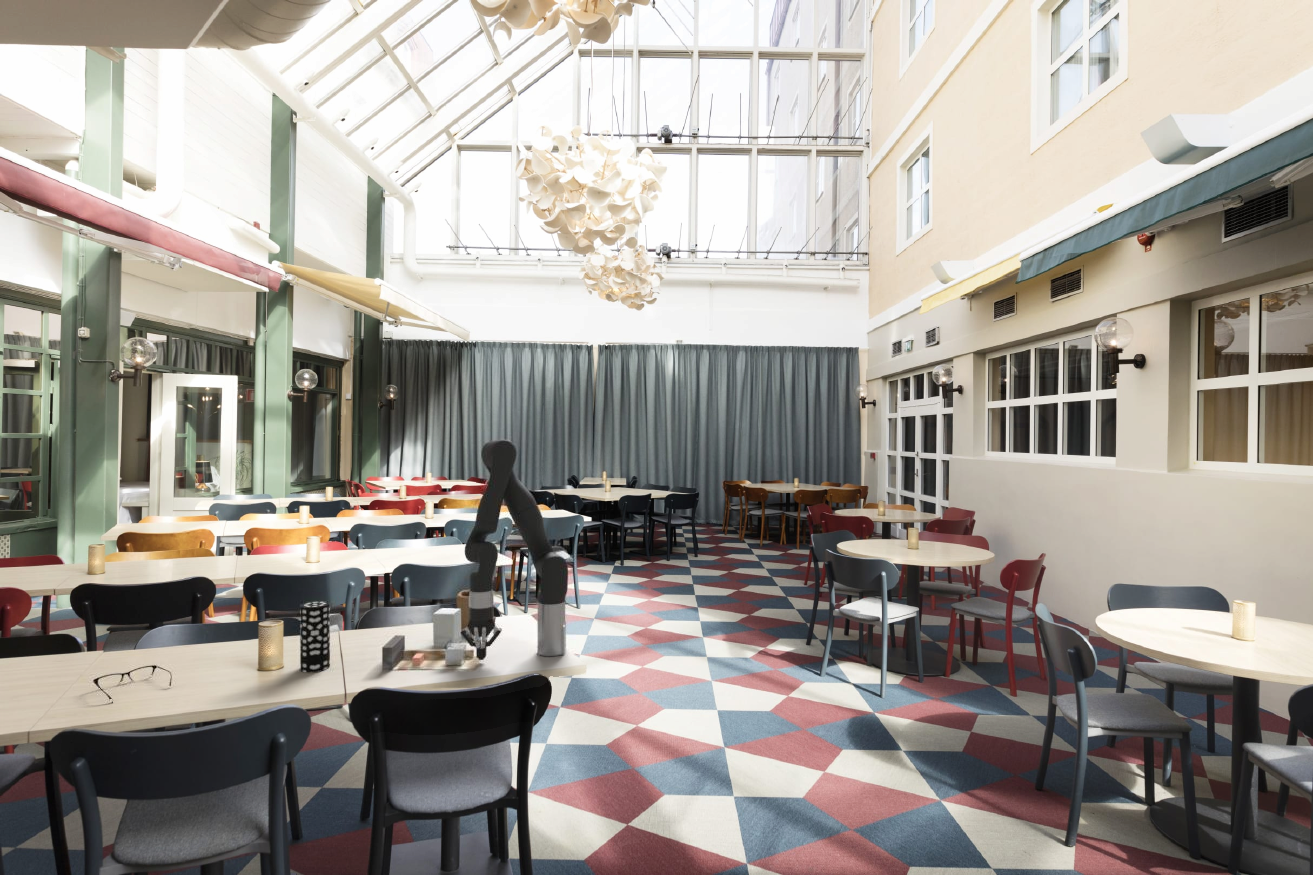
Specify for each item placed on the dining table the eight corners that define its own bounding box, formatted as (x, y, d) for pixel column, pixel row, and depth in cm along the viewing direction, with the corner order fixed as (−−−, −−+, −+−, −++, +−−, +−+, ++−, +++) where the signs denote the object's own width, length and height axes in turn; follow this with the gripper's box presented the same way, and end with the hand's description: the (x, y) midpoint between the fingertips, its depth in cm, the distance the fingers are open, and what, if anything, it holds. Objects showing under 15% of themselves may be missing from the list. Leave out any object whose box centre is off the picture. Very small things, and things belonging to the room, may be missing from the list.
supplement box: (461, 644, 241) (462, 608, 241) (453, 651, 234) (453, 613, 233) (441, 643, 242) (441, 607, 241) (432, 650, 234) (432, 613, 234)
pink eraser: (423, 660, 220) (423, 653, 219) (420, 665, 216) (420, 657, 216) (416, 661, 219) (416, 653, 219) (412, 665, 215) (412, 657, 215)
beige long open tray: (483, 660, 224) (483, 634, 224) (475, 674, 212) (475, 646, 212) (395, 661, 223) (395, 635, 223) (382, 675, 211) (382, 647, 211)
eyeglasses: (158, 675, 211) (158, 662, 210) (177, 688, 201) (176, 675, 201) (90, 692, 198) (89, 678, 198) (106, 706, 188) (105, 692, 188)
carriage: (466, 658, 221) (466, 639, 221) (461, 665, 215) (461, 645, 215) (449, 658, 221) (449, 639, 221) (444, 665, 215) (444, 645, 215)
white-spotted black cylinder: (294, 670, 215) (293, 606, 214) (315, 661, 222) (315, 599, 222) (314, 674, 212) (314, 608, 211) (336, 665, 220) (335, 602, 219)
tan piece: (453, 635, 251) (453, 594, 251) (454, 625, 263) (454, 586, 262) (496, 632, 255) (497, 591, 255) (495, 623, 267) (495, 584, 266)
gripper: (504, 601, 222) (504, 654, 222) (462, 601, 221) (462, 655, 222) (500, 607, 214) (500, 662, 215) (457, 607, 214) (457, 663, 214)
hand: (481, 658), depth 218 cm, fingers closed
